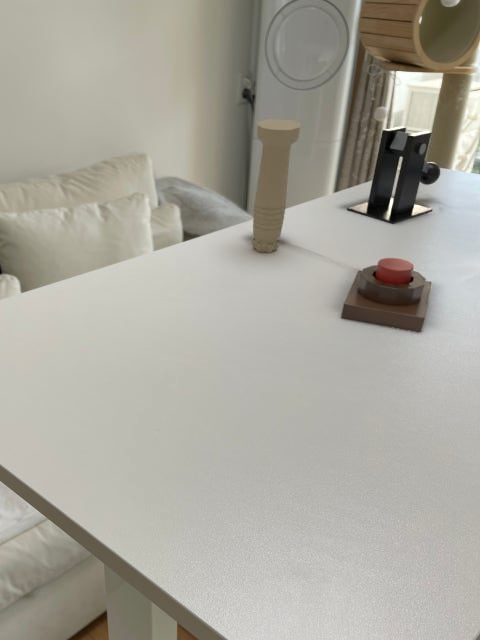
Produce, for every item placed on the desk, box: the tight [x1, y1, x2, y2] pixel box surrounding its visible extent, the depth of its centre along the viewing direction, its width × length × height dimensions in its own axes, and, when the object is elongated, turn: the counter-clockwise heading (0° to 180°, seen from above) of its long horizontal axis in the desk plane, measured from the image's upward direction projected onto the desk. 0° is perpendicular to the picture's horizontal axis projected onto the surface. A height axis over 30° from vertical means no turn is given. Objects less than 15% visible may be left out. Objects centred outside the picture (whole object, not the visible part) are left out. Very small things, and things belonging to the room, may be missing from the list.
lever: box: [390, 131, 441, 186], centre depth 94 cm, size 13×3×3 cm, turn 131°
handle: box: [252, 118, 301, 254], centre depth 80 cm, size 5×6×15 cm
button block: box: [340, 264, 432, 333], centre depth 69 cm, size 10×8×4 cm
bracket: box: [346, 126, 433, 225], centre depth 93 cm, size 10×8×12 cm
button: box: [375, 257, 415, 285], centre depth 68 cm, size 4×4×2 cm
